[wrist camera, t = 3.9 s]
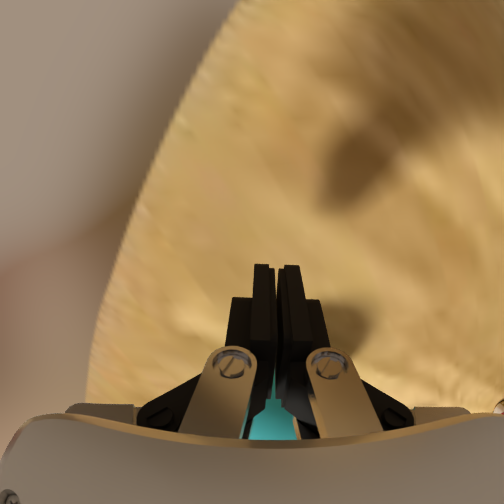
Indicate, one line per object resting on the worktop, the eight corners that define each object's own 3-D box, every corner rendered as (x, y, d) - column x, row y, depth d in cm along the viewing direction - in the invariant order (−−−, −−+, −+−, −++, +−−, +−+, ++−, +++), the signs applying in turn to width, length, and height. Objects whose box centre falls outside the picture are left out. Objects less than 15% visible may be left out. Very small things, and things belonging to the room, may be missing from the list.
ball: (234, 337, 18) (220, 418, 13) (328, 341, 18) (340, 421, 12) (235, 390, 21) (226, 458, 16) (313, 393, 20) (317, 461, 15)
